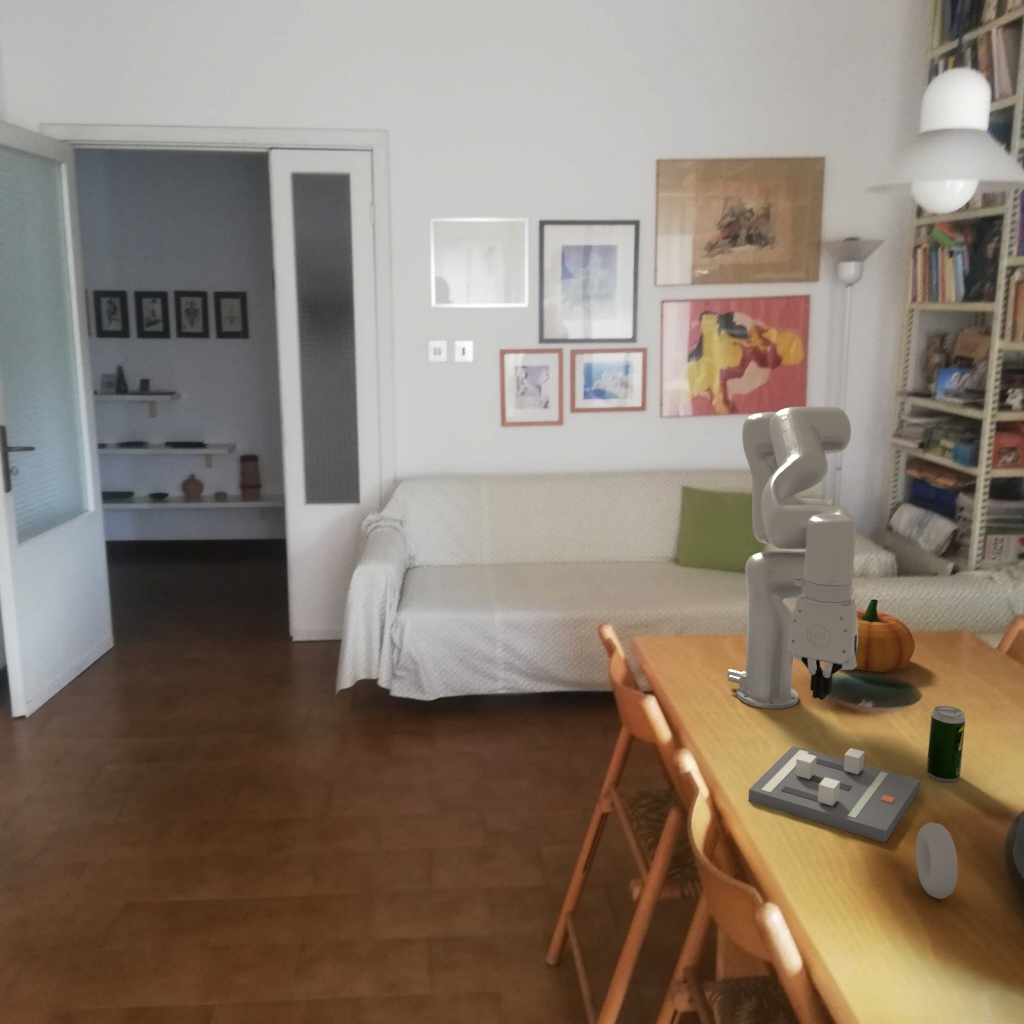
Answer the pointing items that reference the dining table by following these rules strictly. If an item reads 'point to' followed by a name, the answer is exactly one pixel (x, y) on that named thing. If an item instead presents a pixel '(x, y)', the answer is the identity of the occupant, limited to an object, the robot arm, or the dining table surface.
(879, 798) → the panel
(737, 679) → the robot arm
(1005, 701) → the dining table surface
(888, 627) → the pumpkin
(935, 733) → the beer can
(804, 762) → the handle
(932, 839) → the donut
